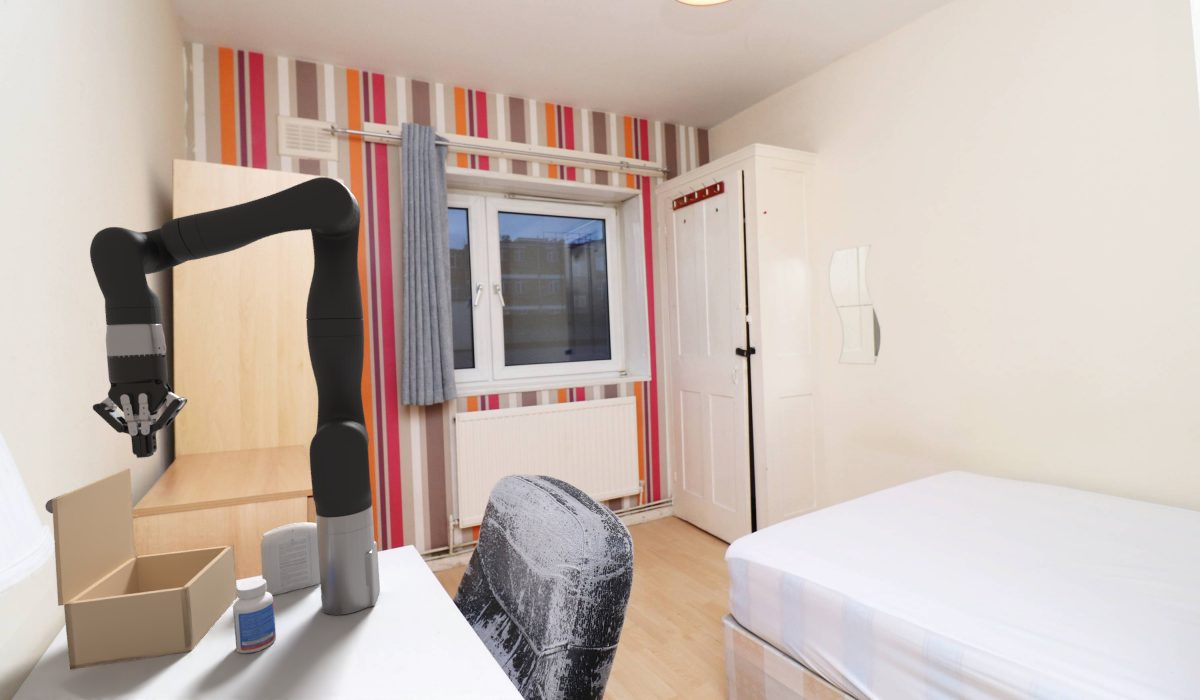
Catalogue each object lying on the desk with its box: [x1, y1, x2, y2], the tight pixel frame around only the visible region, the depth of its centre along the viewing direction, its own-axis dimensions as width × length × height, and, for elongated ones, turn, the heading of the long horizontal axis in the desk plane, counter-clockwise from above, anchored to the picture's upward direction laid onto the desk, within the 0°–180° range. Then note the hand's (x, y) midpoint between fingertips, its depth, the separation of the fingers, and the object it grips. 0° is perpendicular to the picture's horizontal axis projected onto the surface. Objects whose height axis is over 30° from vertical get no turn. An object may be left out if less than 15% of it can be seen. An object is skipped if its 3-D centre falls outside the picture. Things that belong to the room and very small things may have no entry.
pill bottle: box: [232, 578, 277, 654], centre depth 88 cm, size 6×5×10 cm
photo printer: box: [260, 521, 321, 596], centre depth 108 cm, size 10×4×12 cm, turn 123°
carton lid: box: [44, 468, 136, 606], centre depth 91 cm, size 16×18×6 cm
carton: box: [63, 544, 238, 670], centre depth 94 cm, size 16×18×10 cm
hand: (145, 456), depth 93 cm, fingers closed
